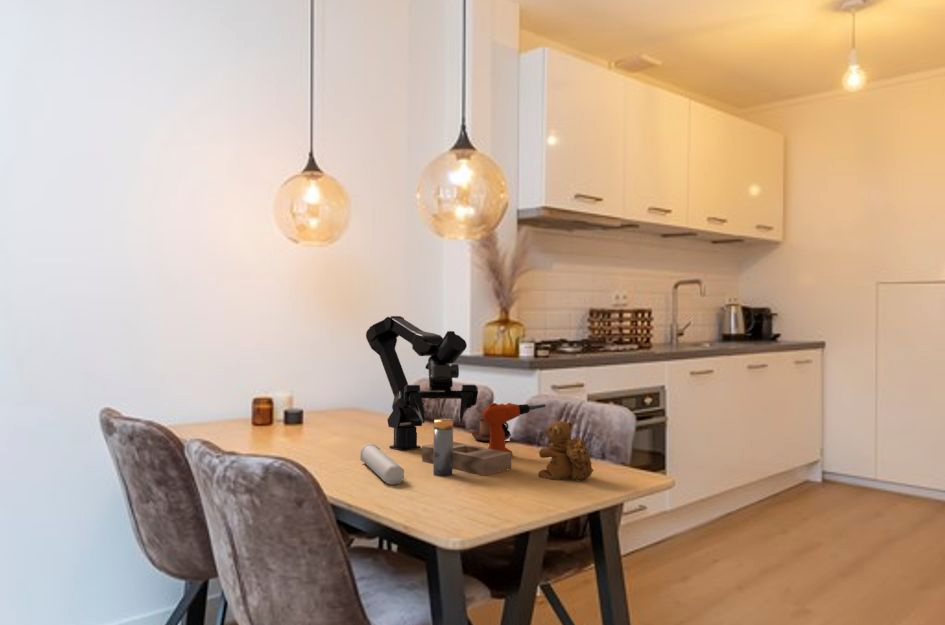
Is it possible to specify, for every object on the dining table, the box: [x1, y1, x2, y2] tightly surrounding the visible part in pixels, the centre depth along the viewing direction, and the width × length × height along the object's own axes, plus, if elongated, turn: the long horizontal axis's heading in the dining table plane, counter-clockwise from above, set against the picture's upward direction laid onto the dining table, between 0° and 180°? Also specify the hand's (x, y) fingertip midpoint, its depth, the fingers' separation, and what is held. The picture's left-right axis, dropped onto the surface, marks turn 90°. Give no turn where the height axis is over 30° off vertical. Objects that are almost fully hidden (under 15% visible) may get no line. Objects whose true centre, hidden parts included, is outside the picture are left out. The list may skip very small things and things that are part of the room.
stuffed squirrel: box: [537, 420, 594, 481], centre depth 163 cm, size 10×14×13 cm
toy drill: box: [482, 402, 547, 455], centre depth 188 cm, size 5×19×15 cm, turn 106°
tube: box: [359, 443, 405, 486], centre depth 165 cm, size 5×5×25 cm
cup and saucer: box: [471, 418, 512, 443], centre depth 211 cm, size 12×12×6 cm
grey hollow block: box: [421, 441, 513, 476], centre depth 175 cm, size 22×10×4 cm, turn 47°
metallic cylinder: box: [432, 418, 454, 477], centre depth 165 cm, size 5×5×13 cm
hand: (442, 421), depth 171 cm, fingers open, 9 cm apart
